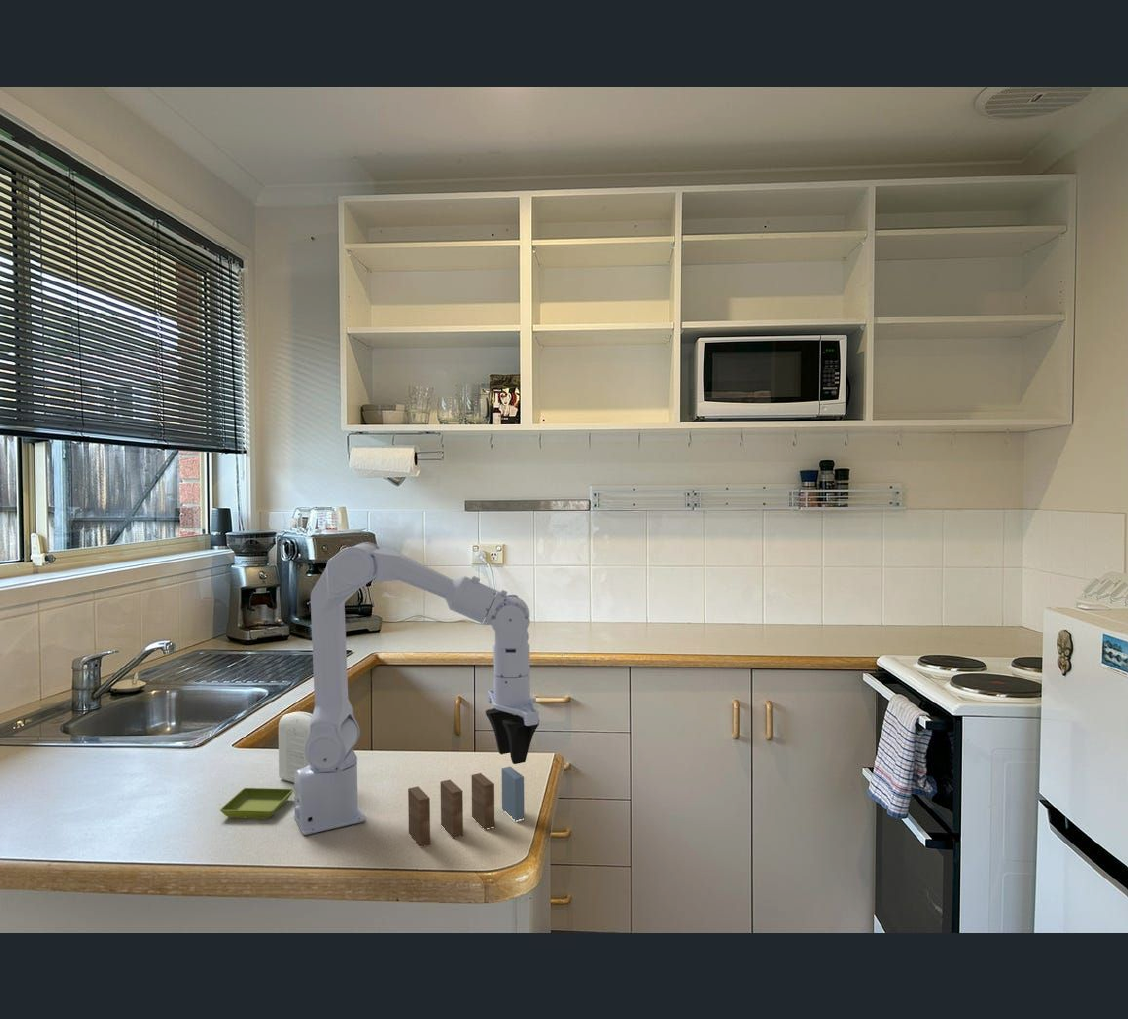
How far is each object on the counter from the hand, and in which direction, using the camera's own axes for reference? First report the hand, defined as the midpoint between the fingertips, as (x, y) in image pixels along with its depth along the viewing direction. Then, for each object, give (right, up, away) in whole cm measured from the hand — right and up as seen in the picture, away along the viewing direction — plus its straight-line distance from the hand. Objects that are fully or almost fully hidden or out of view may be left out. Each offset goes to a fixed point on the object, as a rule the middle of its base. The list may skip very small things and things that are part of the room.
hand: (512, 757), depth 121 cm
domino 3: (-4, -10, -2) cm, 11 cm away
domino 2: (-9, -10, -5) cm, 14 cm away
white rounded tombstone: (-38, -9, +15) cm, 42 cm away
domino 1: (-14, -10, -7) cm, 18 cm away
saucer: (-42, -10, +3) cm, 43 cm away
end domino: (0, -9, 0) cm, 9 cm away
